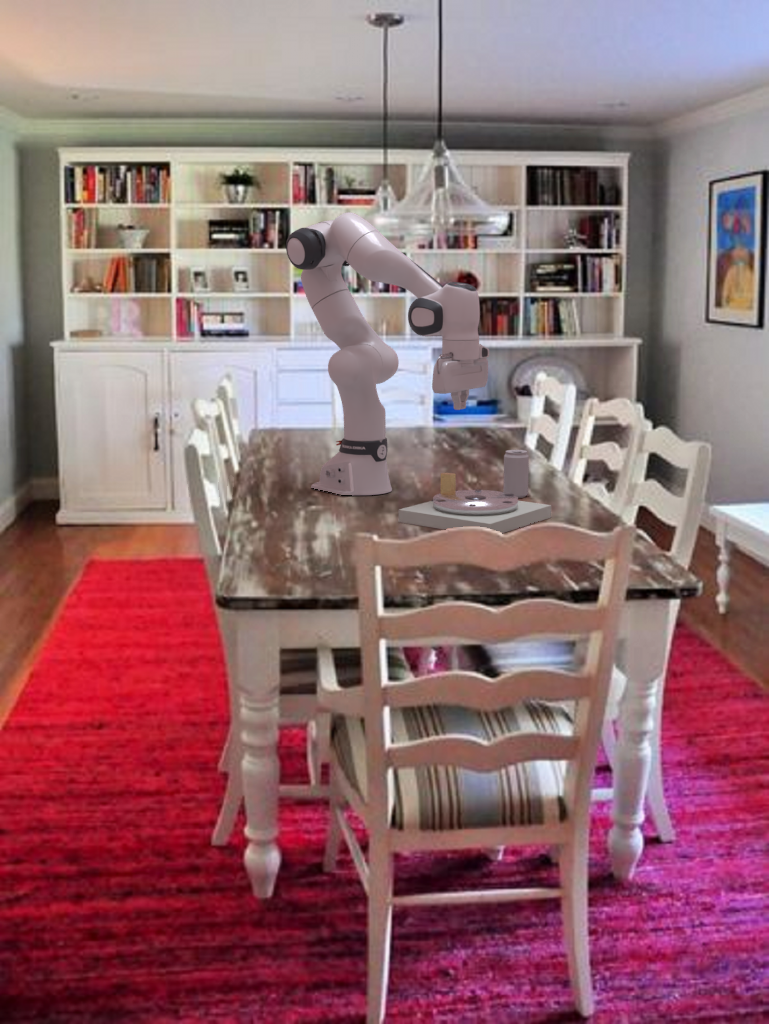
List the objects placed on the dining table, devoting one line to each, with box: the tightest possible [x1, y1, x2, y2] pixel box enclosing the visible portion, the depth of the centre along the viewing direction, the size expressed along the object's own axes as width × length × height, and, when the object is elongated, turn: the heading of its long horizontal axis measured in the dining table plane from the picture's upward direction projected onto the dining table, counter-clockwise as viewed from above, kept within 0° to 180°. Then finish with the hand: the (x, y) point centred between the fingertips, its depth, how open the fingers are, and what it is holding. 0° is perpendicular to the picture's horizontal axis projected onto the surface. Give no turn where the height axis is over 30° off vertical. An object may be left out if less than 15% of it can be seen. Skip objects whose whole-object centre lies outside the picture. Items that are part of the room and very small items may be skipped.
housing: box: [398, 499, 552, 534], centre depth 287 cm, size 26×26×3 cm
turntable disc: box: [432, 472, 519, 515], centre depth 286 cm, size 20×20×7 cm
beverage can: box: [503, 449, 530, 499], centre depth 314 cm, size 6×6×12 cm
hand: (459, 409), depth 292 cm, fingers closed
